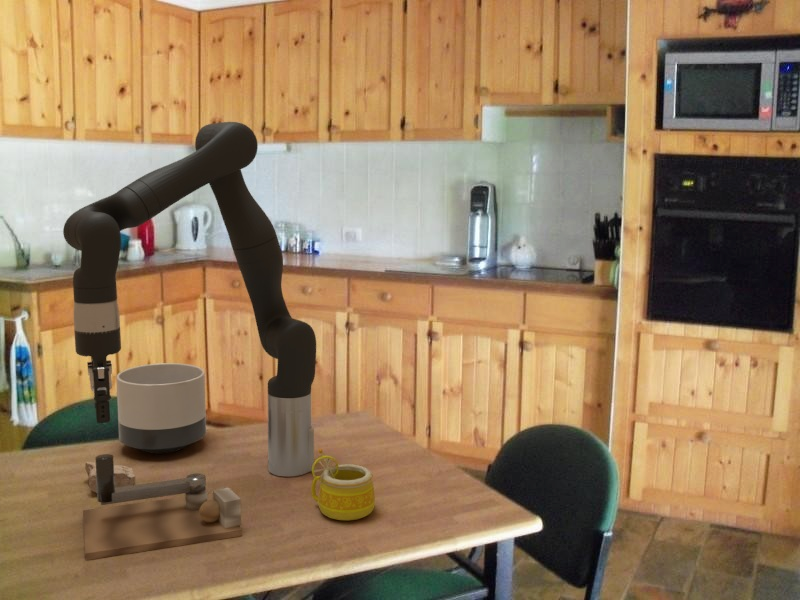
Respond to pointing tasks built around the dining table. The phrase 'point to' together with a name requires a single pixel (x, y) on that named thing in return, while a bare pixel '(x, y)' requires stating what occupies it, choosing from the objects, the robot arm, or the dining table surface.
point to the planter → (161, 406)
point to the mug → (344, 490)
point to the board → (161, 523)
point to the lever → (140, 485)
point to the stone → (121, 476)
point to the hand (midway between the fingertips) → (102, 415)
